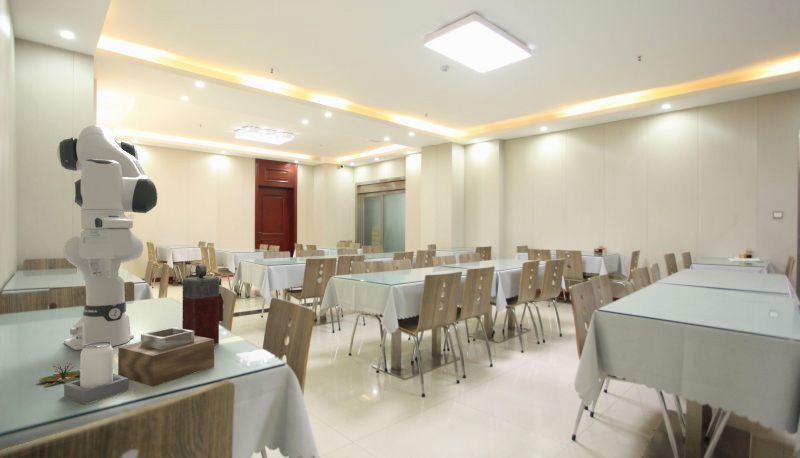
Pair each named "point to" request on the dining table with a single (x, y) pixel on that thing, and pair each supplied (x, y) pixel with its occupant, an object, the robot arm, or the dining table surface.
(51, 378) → the leafy plant
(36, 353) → the dining table surface
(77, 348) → the robot arm
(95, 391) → the collar
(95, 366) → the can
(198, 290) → the red mill shaker
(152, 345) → the socket pedestal
